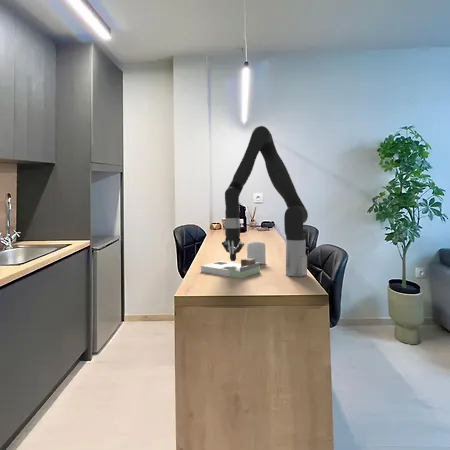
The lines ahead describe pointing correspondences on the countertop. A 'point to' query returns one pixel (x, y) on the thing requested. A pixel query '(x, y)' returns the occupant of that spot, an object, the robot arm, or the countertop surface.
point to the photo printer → (256, 252)
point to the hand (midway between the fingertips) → (233, 260)
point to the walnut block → (247, 261)
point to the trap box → (231, 269)
